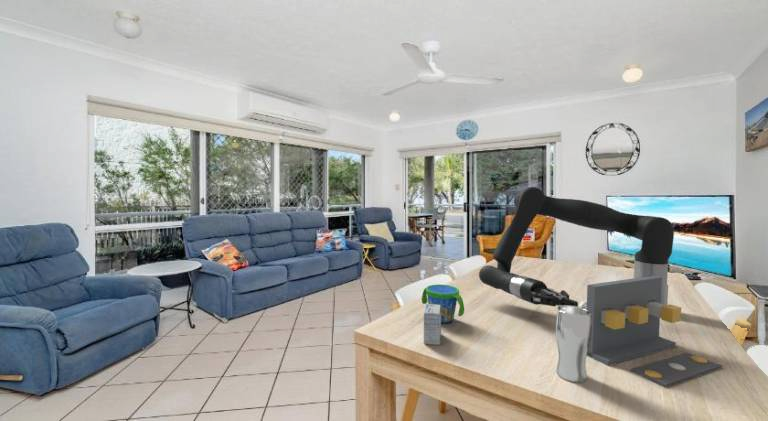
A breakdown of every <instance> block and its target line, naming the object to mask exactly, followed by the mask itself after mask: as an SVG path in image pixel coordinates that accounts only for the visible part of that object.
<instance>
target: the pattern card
mask: <svg viewBox="0 0 768 421" xmlns="http://www.w3.org/2000/svg"><path fill="white" fill-rule="evenodd" d="M720 369H723V365H722V364H719V363H717V362H714V361H711V360H710V359H709V360H708V359H705V358H703V357H700V356H697V355H696V354H695V355H694V354H692V353H689V352H687V351H685V352H682V353H679V354H675V355H672V356H668V357H666V358H663V359H659V360H655V361H652V362H648V363H646V364H642V365H637V366H634V367H632V368H630V372H631V373H634V374H636V375H638V376H640V377H642V378H644V379H646V380H648V381H651V382H653V383H655V384H657V385H659V386H661V387H664V388H669V387H672V386H675V385H677V384H679V383H683V382H686V381H688V380H692V379H694V378H697V377H700V376H703V375H706V374H708V372H709V373H712V372H715V371H717V370H720ZM711 371H712V372H711ZM705 373H706V374H705Z"/></svg>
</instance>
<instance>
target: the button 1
mask: <svg viewBox="0 0 768 421" xmlns="http://www.w3.org/2000/svg"><path fill="white" fill-rule="evenodd" d="M578 307H581V308H584V309H587V300H583V301H581V302H580V303H578ZM601 323H603V324H605V326H607V327H609V328H612V329H615V330H616V329H620V328H625V313H624V312H620V311H617V310H609V309H603V310H601Z"/></svg>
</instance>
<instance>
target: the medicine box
mask: <svg viewBox="0 0 768 421" xmlns="http://www.w3.org/2000/svg"><path fill="white" fill-rule="evenodd" d="M441 335H442V323H441V305H436V304H428V303H426V306H425V309H424V313H423V344H424V345H430V346H431V345H433V346H440V345H441V337H442V336H441Z"/></svg>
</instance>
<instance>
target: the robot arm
mask: <svg viewBox="0 0 768 421" xmlns="http://www.w3.org/2000/svg"><path fill="white" fill-rule="evenodd" d="M513 203H514V206H515V208H516V210H515V212H514V213H515V214H514V216H513V218H512V219H511V221H510V224H509V225H508V227H507V228H506V229H505V231H504V232H503V234H502V236H501V238H500V239H499V241H498V243H497V245H496V247H495V249H494V252H493V254H492V258H493V259H494V260H495V262H497V264H496V265H497V267H496V266H493V265H484V266H483V267H482V268H481V269H480V270H479V272H478V278H479V280H480V281H481V283H483V284H484V285H487V286H489V287H492V288H494V289H496V290H501V291H503V292H505V293H507V294H510V295H512V296H514V297H516V298H517V299H520V300H523V301H525V302H527V303H530V304H532V305H541V306H549V307H556V306H557V307H558V306H562V305H571V306H577V307H578V306H579V302H578V301H576V300H574V299H571V298H570V294H569V293H568V292H567V291H566V290H563V289H562V290H560V292H559V291H556V290H554V288H549V287H547V285H546V283H545V282H543V281H541V280H538V279H535V278H532V277H528V276H526V275H521V274H520V275H519V274H516V273H513V272H511V271H512V270H511V268H512V263H513V260H514V258H515V256H516V254H517V252H518V250H519V249H520V245H521V243H522V242H523V238H525V235H526V233H527V231H528V229H529V228H530V226H531V225H532V223H533V221H534V219H535V218H536V216H538V215H540V216H545V217H550V218H554V219H555V220H559V221H563V222H566V223H570V224H573V225H577V226H579V227H580V226H581V227H584V228H588V229H594V230H598V231H609V232H611V231H612V232H616V233H620V234H624V235H626V236H629V237H632V238H635V239H636V240H640V241H641V247H640V250H638V251H636V252H635V254H634V264H633V265H634V267H633V268H634V269H633V278H640V277H648V276H658V277H662V288H661V304H665V305H668V298H669V284H668V272H669V259H670V258H671V256H672V254H673V246H674V236H675V234H674V233H675V231H674V226H673V223H672V222H671V221H670V220H668V219H667V218H665V217H660V216H652V215H641V214H640V215H639V214H633V213H626V212H621V211H619V210H616V209H614V208H612V207H609V206H606V205H603V204H600V203H596V202H593V201H592V202H591V201H589V200H581V199H574V198H559V197H557V198H556V197H551V196H550V195H545V193H544V191H543V190H541V188H539V187H535V186H530V187H526V188H524V189H521V190H519V191H518V192H517V193H516V194H515V196H514V198H513Z"/></svg>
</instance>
